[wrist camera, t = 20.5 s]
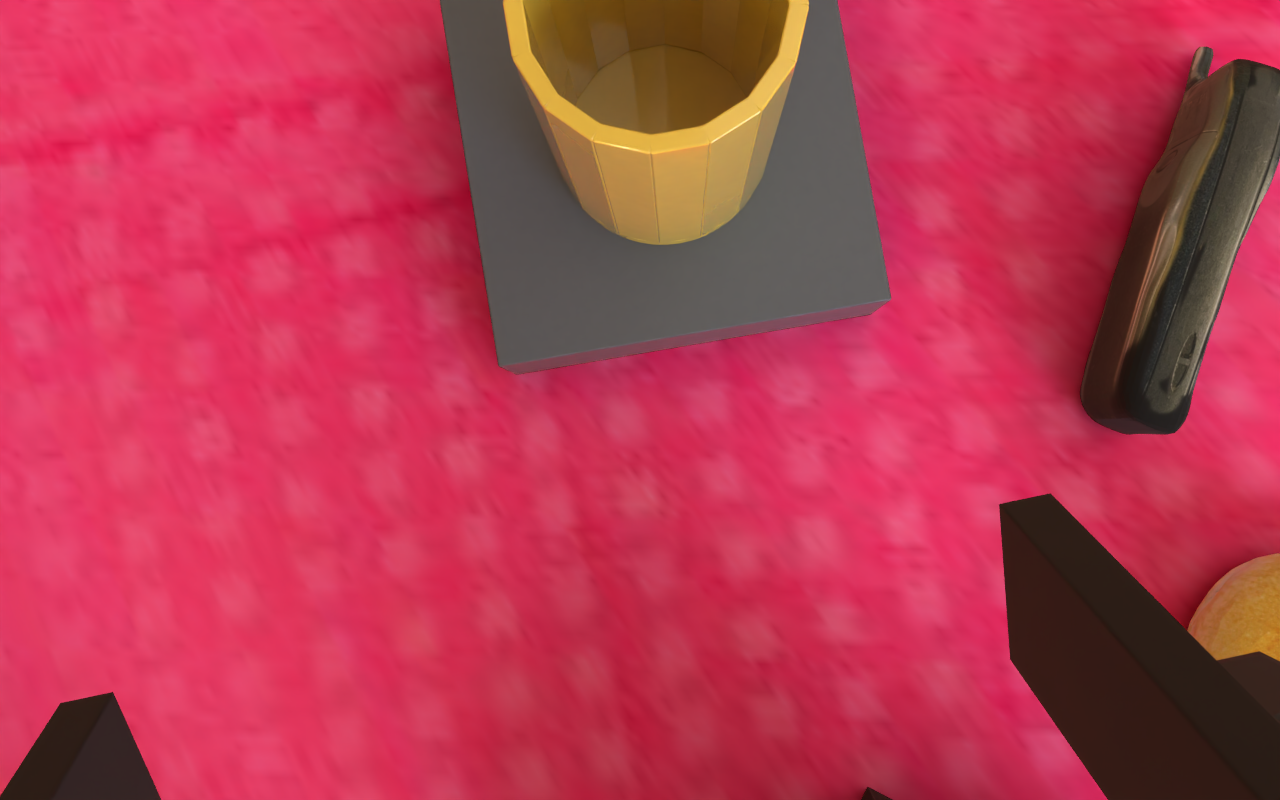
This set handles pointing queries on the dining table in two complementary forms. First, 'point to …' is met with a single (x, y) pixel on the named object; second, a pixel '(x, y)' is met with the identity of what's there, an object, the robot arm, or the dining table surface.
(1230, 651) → the bread roll
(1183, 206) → the dark pencil case
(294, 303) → the dining table surface
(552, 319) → the grey block
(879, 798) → the energy cube
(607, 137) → the yellow cup
